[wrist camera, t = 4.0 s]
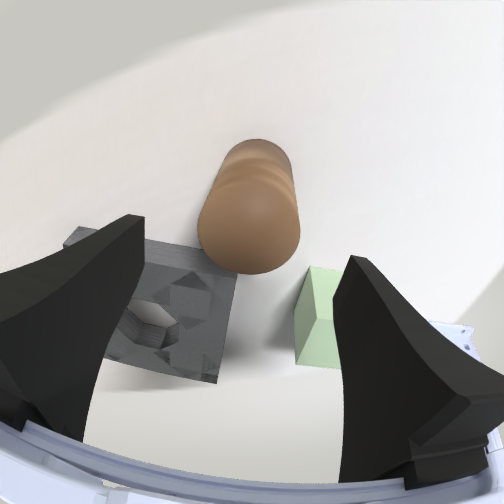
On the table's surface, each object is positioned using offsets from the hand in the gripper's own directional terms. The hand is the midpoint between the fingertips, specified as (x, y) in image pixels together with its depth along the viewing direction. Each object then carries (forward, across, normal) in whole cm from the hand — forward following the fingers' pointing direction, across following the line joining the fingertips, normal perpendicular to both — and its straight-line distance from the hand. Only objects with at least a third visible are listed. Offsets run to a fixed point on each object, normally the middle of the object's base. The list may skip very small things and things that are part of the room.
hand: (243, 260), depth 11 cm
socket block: (+9, +6, +12) cm, 16 cm away
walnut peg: (+9, 0, 0) cm, 9 cm away
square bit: (+9, -7, +8) cm, 14 cm away
